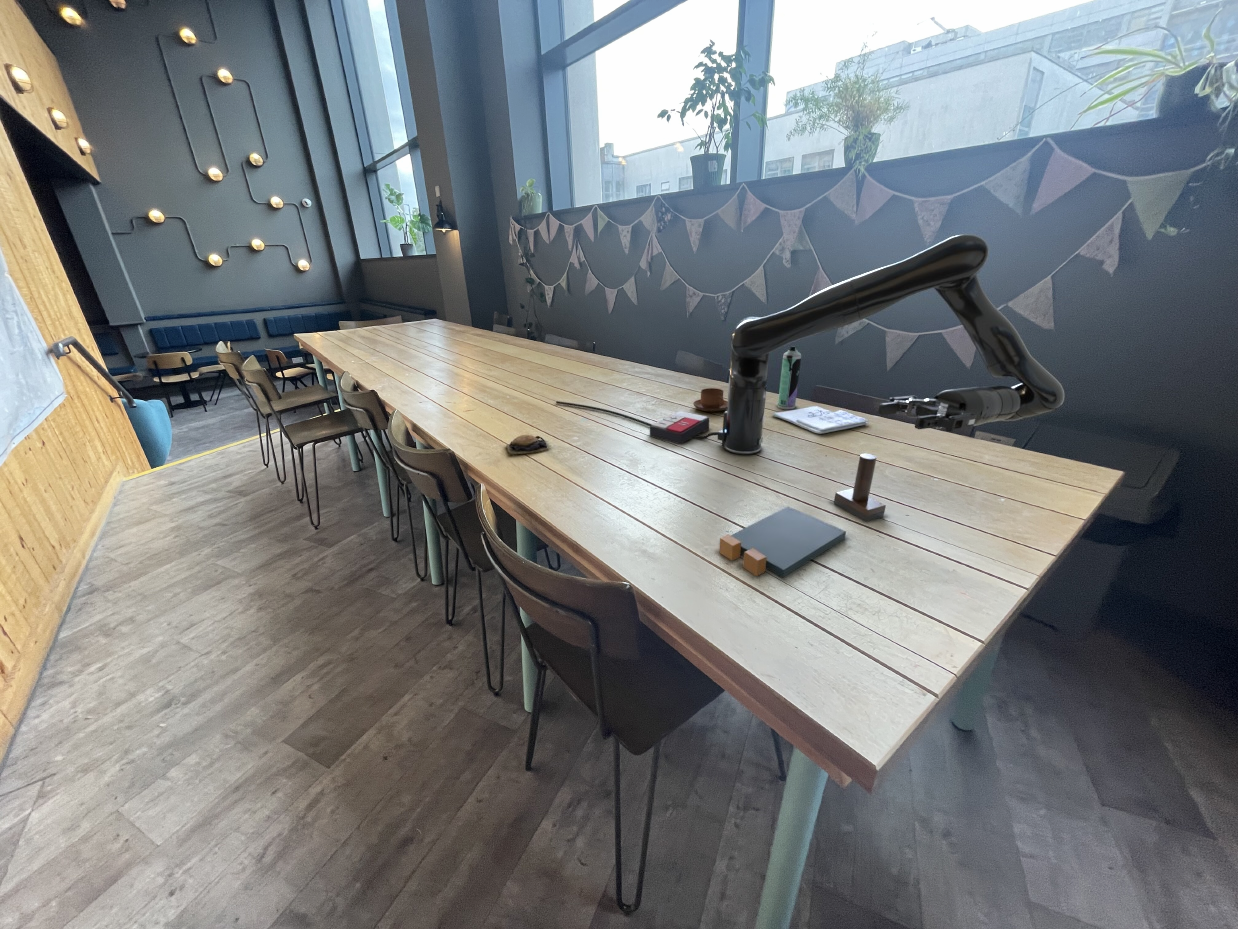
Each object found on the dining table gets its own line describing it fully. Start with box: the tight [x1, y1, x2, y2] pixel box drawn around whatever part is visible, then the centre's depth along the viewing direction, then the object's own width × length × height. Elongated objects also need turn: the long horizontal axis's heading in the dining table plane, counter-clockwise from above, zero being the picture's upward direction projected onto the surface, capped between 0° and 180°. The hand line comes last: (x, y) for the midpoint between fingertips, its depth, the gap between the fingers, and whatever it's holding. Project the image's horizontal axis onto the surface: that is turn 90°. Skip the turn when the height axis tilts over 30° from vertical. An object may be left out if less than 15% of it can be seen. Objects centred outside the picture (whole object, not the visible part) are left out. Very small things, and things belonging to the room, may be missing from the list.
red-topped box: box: [649, 410, 710, 445], centre depth 136 cm, size 11×4×15 cm
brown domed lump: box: [506, 434, 549, 456], centre depth 128 cm, size 11×8×4 cm
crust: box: [742, 548, 767, 577], centre depth 75 cm, size 3×3×2 cm
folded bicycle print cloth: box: [772, 405, 869, 435], centre depth 142 cm, size 19×20×2 cm
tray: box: [729, 506, 847, 578], centre depth 83 cm, size 12×18×2 cm, turn 126°
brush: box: [833, 453, 887, 522], centre depth 90 cm, size 8×4×12 cm, turn 22°
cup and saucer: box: [693, 387, 728, 413], centre depth 156 cm, size 12×12×6 cm
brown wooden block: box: [718, 534, 741, 562], centre depth 79 cm, size 3×3×2 cm
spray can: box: [777, 345, 802, 410], centre depth 153 cm, size 6×6×20 cm
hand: (897, 416), depth 86 cm, fingers open, 8 cm apart
